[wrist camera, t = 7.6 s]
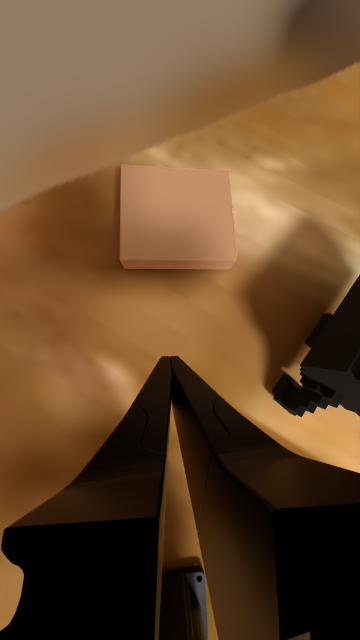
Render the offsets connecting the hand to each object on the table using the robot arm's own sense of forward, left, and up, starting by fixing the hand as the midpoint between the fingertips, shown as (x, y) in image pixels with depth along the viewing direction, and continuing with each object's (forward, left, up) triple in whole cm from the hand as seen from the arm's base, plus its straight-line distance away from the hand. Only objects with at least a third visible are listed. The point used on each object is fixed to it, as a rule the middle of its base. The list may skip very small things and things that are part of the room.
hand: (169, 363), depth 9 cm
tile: (+9, -2, -8) cm, 13 cm away
